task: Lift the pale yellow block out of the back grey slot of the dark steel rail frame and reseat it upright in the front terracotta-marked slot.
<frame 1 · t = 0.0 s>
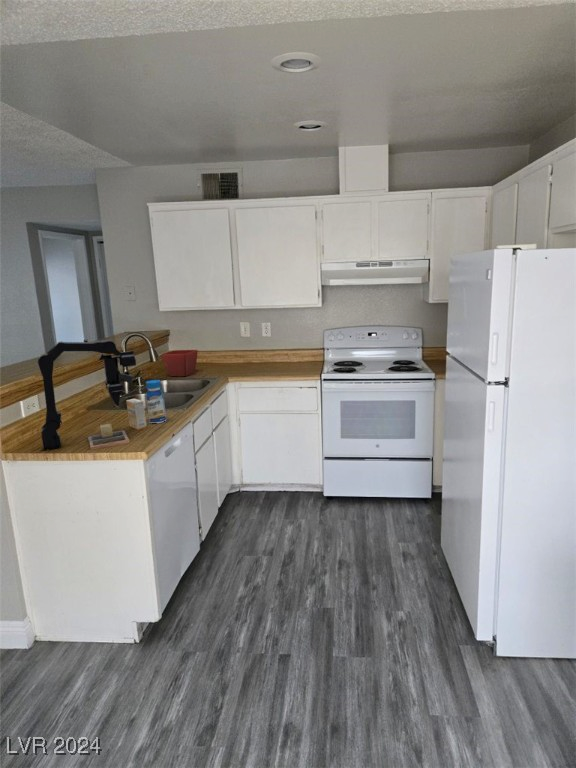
hand: (116, 403, 222), 15 cm above the table, tool pointing down, fingers open, 9 cm apart
pale yellow block: (107, 438, 222), resting in rail frame
supplement box: (138, 427, 236), on the table
rail frame: (108, 440, 218), on the table
beverage bottle: (158, 421, 244), on the table
plant pot: (182, 375, 360), on the table
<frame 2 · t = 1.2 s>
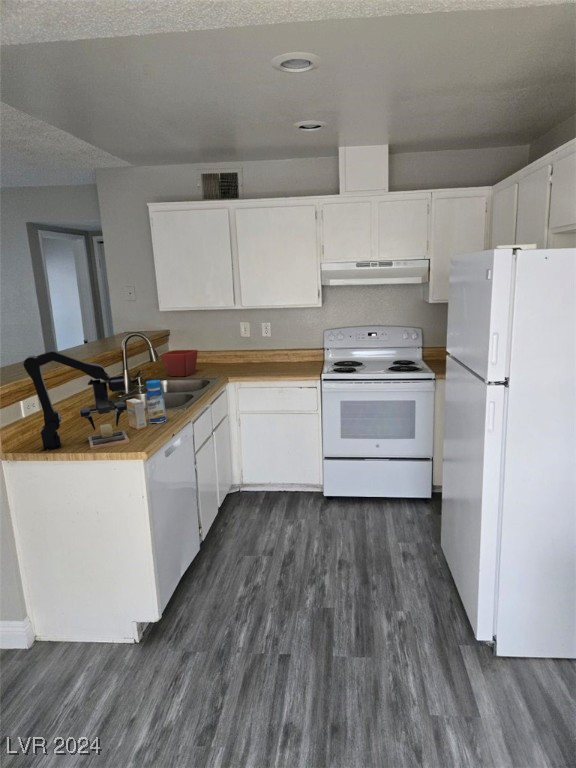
hand: (105, 428, 221), 5 cm above the table, tool pointing down, fingers open, 9 cm apart
nothing on the table moved.
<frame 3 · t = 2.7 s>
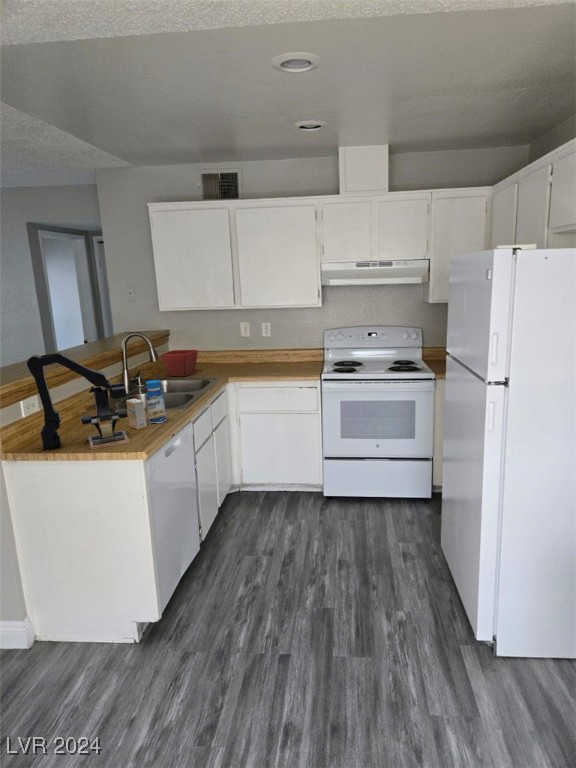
hand: (107, 435, 221), 2 cm above the table, tool pointing down, fingers closed on pale yellow block, 4 cm apart
pale yellow block: (107, 438, 222), resting in rail frame, touching gripper
everything else where it was.
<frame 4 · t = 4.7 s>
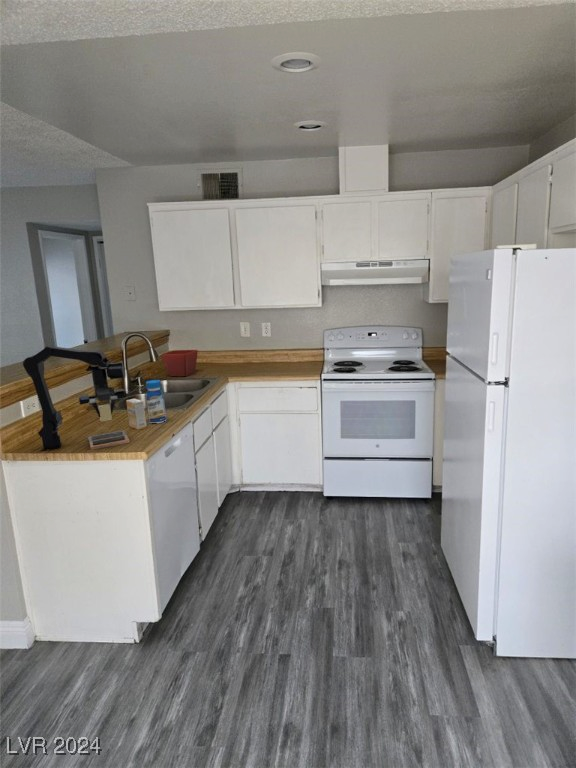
hand: (105, 416, 214), 12 cm above the table, tool pointing down, fingers closed on pale yellow block, 4 cm apart
pale yellow block: (106, 419, 215), point 10 cm above the table, touching gripper
everything else where it was.
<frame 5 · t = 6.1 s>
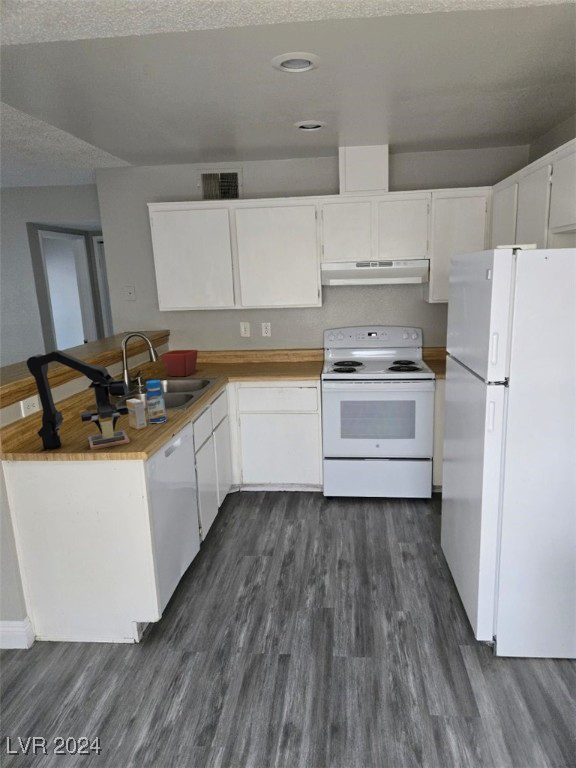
hand: (107, 432, 214), 5 cm above the table, tool pointing down, fingers closed on pale yellow block, 4 cm apart
pale yellow block: (108, 436, 214), point 3 cm above the table, touching gripper
everything else where it was.
when the fingers open (3 cm above the table, at t = 7.2 s): pale yellow block drops 2 cm, resting in rail frame.
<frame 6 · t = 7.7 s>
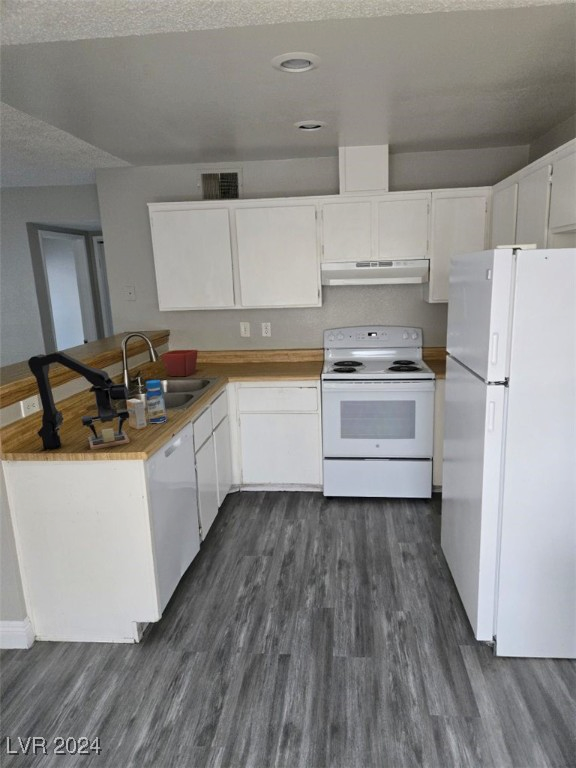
hand: (108, 436, 214), 3 cm above the table, tool pointing down, fingers open, 9 cm apart
pale yellow block: (109, 443, 215), resting in rail frame
everything else where it was.
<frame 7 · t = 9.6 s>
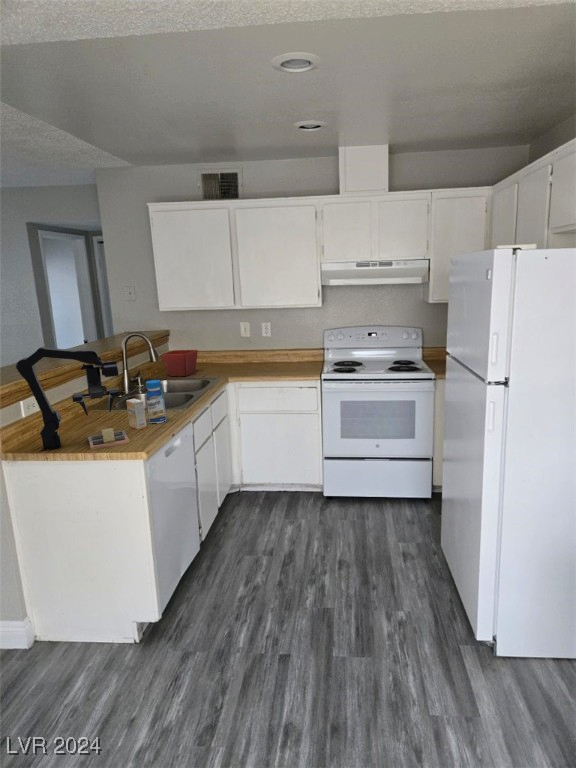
hand: (98, 414, 218), 12 cm above the table, tool pointing down, fingers open, 9 cm apart
nothing on the table moved.
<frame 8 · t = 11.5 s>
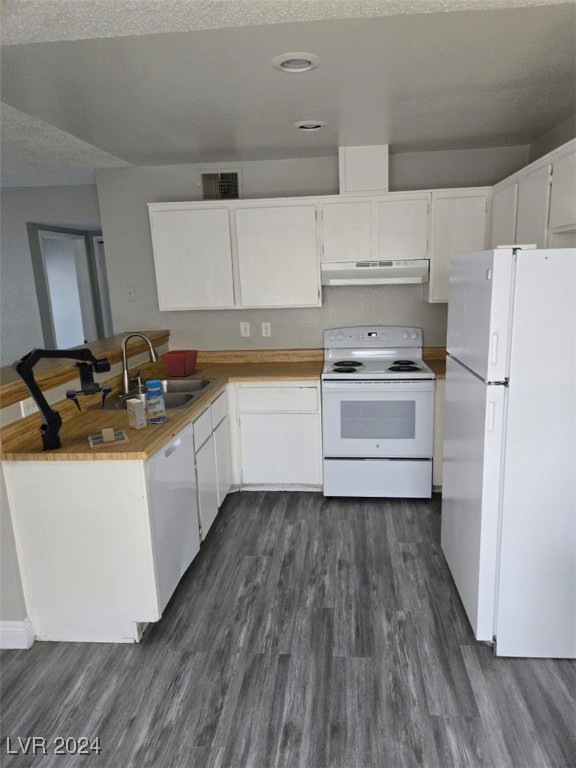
hand: (91, 410, 224), 12 cm above the table, tool pointing down, fingers open, 9 cm apart
nothing on the table moved.
at the end: pale yellow block inside the target area on the rail frame (0.2 cm from its centre), point 0.0 cm above the rail frame's base; pale yellow block tilted 0°; the gripper is holding nothing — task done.
